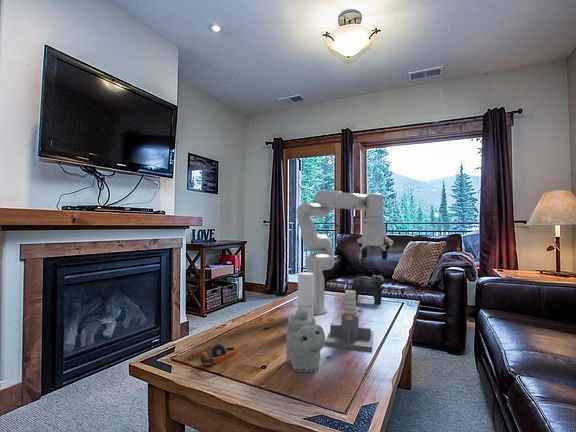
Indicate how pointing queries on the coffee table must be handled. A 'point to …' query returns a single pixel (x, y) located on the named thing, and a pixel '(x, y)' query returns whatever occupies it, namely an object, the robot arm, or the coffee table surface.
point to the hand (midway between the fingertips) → (374, 258)
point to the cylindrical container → (306, 291)
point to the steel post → (350, 302)
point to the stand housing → (350, 334)
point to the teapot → (304, 342)
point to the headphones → (216, 354)
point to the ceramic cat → (369, 286)
